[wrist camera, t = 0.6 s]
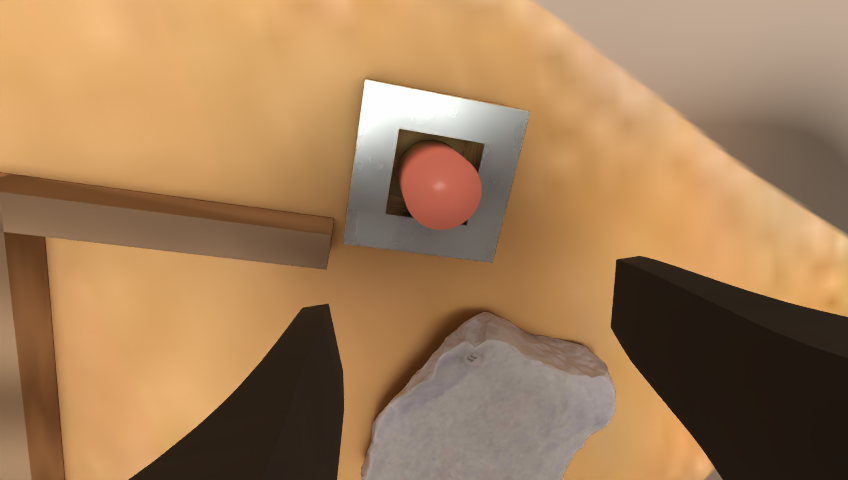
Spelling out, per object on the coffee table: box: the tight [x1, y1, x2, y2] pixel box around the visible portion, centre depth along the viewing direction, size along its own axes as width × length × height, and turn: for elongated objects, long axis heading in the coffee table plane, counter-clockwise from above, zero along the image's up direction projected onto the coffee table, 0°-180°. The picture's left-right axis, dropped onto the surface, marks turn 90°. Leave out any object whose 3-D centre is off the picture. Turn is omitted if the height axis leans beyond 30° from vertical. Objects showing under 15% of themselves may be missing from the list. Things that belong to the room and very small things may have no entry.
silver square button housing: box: [343, 78, 530, 263], centre depth 19 cm, size 6×6×3 cm
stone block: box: [361, 312, 616, 480], centre depth 24 cm, size 12×5×10 cm
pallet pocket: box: [0, 173, 334, 480], centre depth 21 cm, size 19×13×2 cm
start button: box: [398, 140, 482, 230], centre depth 17 cm, size 3×3×3 cm
